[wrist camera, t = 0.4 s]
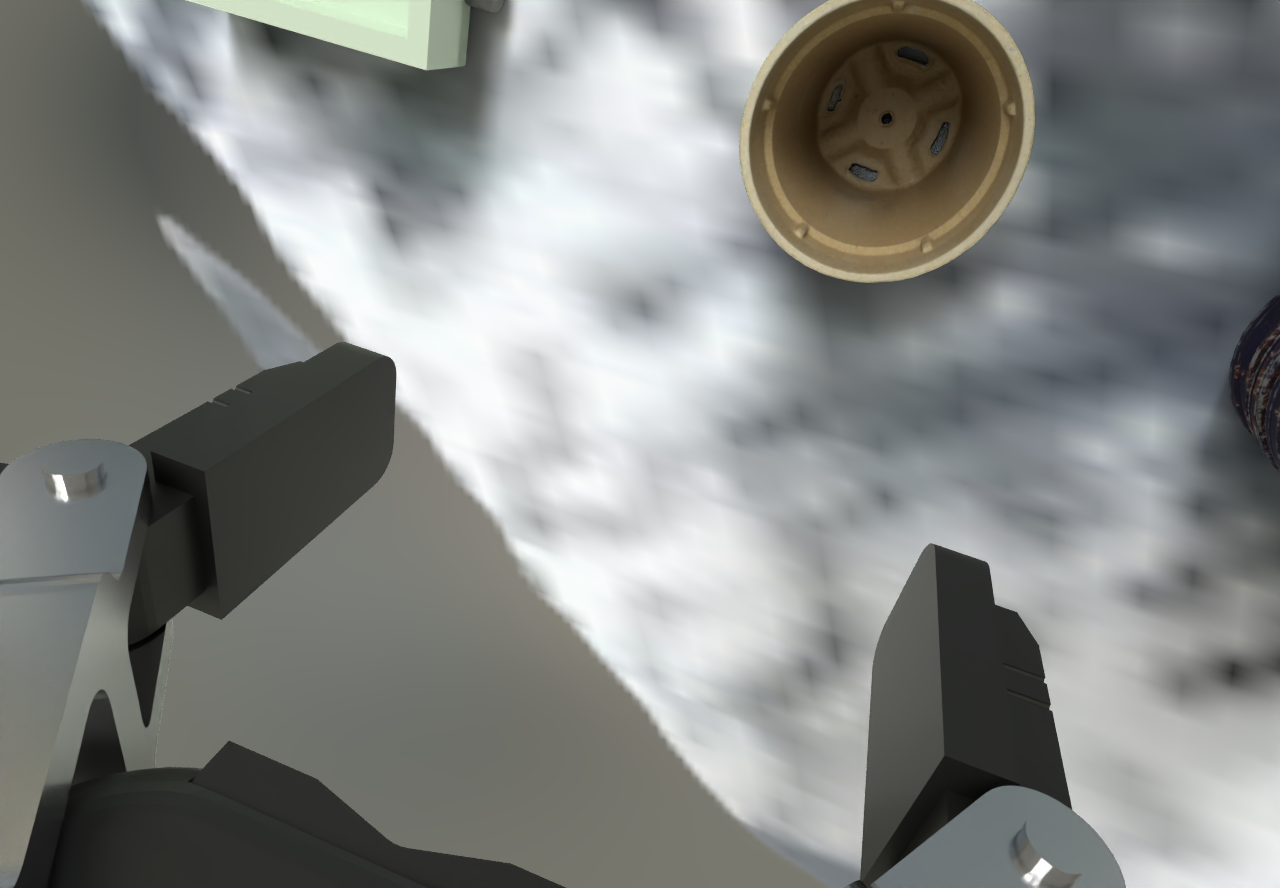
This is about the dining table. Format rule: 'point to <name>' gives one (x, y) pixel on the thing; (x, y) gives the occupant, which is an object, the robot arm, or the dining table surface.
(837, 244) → the flower pot
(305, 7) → the cart
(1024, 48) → the dining table surface
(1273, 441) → the storage jar
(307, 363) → the robot arm
